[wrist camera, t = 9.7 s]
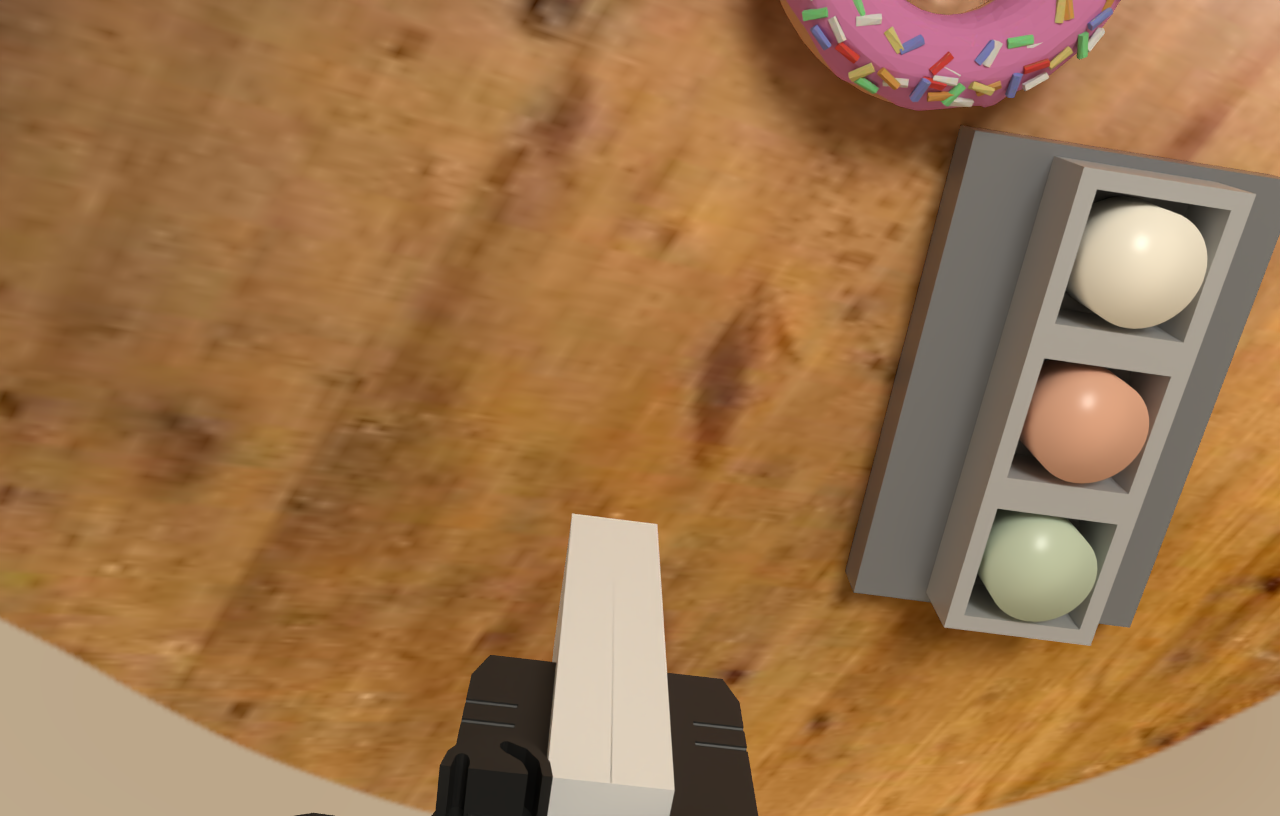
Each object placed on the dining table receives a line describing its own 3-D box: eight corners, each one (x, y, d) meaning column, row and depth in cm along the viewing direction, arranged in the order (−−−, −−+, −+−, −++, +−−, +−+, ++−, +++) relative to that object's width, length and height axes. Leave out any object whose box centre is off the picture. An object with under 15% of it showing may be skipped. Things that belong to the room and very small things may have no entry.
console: (960, 125, 44) (1000, 139, 40) (1271, 174, 45) (1346, 194, 41) (845, 571, 52) (867, 627, 47) (1112, 605, 53) (1158, 663, 48)
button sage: (983, 490, 48) (1006, 521, 45) (1083, 504, 48) (1111, 535, 45) (956, 580, 50) (976, 615, 47) (1052, 592, 50) (1078, 627, 47)
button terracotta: (1027, 347, 45) (1053, 370, 43) (1132, 363, 46) (1164, 386, 43) (996, 447, 47) (1020, 475, 44) (1098, 461, 47) (1128, 490, 45)
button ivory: (1075, 188, 43) (1107, 201, 40) (1186, 205, 43) (1225, 219, 40) (1041, 299, 45) (1069, 319, 42) (1148, 315, 45) (1183, 336, 42)
